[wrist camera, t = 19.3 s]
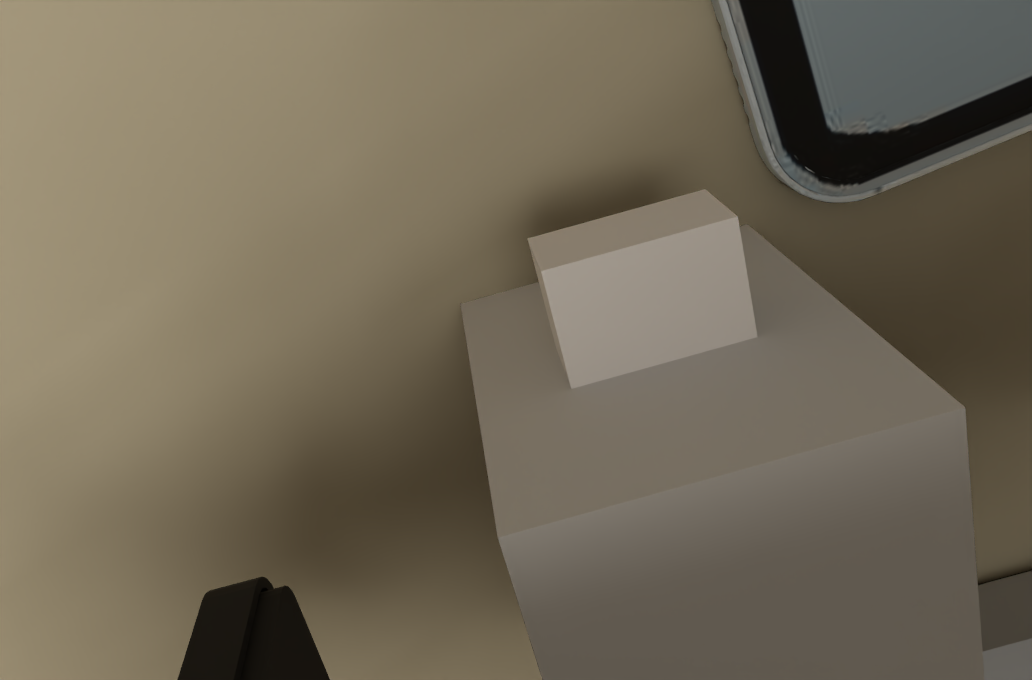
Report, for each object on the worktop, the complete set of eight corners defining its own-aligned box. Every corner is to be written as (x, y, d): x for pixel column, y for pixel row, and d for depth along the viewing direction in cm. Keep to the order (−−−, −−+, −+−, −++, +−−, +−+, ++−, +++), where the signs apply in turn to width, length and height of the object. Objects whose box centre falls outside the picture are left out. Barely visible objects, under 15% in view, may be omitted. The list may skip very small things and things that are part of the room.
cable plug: (729, 127, 11) (953, 259, 7) (798, 550, 14) (997, 859, 9) (432, 209, 11) (453, 397, 7) (554, 619, 14) (631, 960, 9)
